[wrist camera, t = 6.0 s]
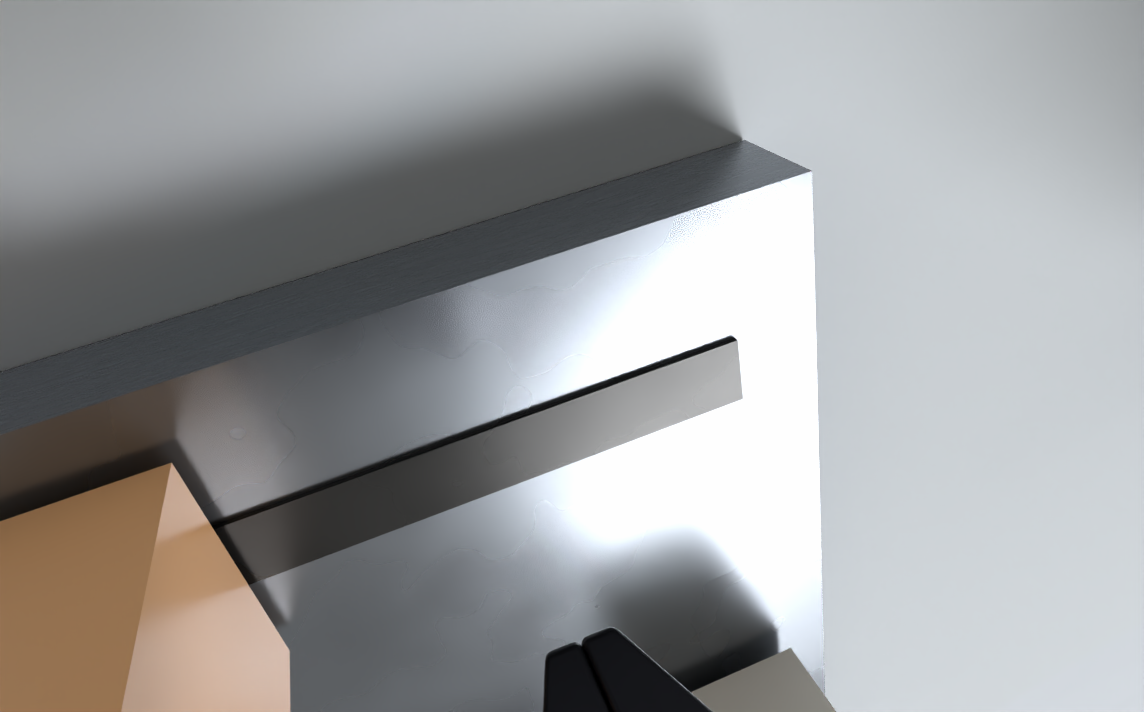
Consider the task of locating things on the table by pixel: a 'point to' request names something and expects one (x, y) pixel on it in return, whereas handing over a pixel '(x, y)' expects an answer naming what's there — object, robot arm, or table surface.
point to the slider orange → (131, 609)
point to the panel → (490, 441)
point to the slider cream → (766, 688)
